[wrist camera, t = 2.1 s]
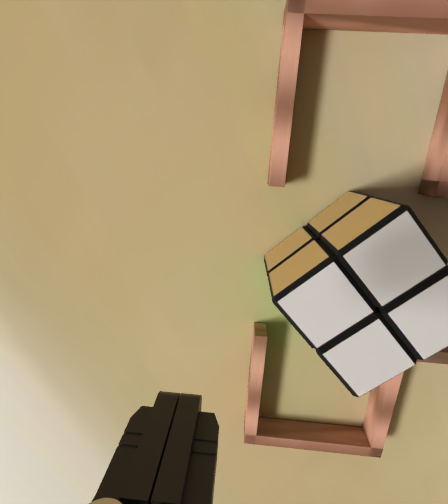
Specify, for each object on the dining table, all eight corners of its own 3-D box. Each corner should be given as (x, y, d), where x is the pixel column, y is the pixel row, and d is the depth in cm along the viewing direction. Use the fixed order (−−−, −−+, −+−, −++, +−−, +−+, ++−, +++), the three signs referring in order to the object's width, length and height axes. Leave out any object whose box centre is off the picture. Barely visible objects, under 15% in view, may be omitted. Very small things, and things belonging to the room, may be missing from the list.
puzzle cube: (411, 270, 29) (495, 324, 19) (322, 328, 31) (357, 402, 21) (350, 188, 27) (408, 201, 17) (261, 256, 29) (269, 301, 20)
